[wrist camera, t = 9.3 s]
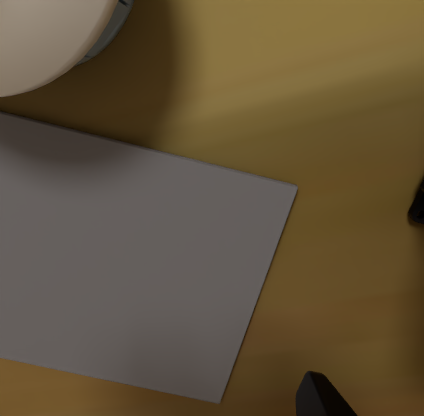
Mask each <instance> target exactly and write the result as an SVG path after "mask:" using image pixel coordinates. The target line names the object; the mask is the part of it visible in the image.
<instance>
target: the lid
mask: <svg viewBox="0 0 424 416" xmlns="http://www.w3.org/2000/svg"><path fill="white" fill-rule="evenodd" d="M117 2H118V0H0V97H5V96H13V95H17V94H21V93H25V92H29V91H32V90H35V89H37V88H39V87H42V86H44V85H46V84H48V83H50V82H52V81H54V80H55V79H57V78H58V77H60V76H61V75H63V74H65V73H66V72H68V71H69V70H70V69H71V68H72V67H73V66H74V65H75V64H77V63H78V62H79V61H80V60H81V59H82V58H83V57H84V56H85V55H86V54H87V52H88V51H89V50H90V49H91V48H92V46H93V45H94V44H95V43H96V42H97V40H98V39H99V37H100V35H101V34H102V32H103V30H104V29H105V27H106V25H107V24H108V22H109V20H110V18H111V16H112V14H113V11H114V9H115V7H116V5H117Z"/></svg>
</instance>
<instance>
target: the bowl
mask: <svg viewBox="0 0 424 416" xmlns="http://www.w3.org/2000/svg"><path fill="white" fill-rule="evenodd" d="M133 3H134V0H118V2H117V5H116V7H115V9H114V11H113V14H112V16H111V18H110V20H109V22H108V24H107V25H106V27H105V29H104V30H103V32H102V34H101V35H100V37H99V39H98V40H97V42H96V43H95V44H94V45H93V46H92V48H91V49H90V50H89V51H88V52H87V54H86V55H85V56H84V57H83V58H82V59H81V60H80V61H79V62H78V63H77V64H75V65H74V66H73V67H75V66H78V65H80V64H82V63H85V62H87V61H88V60H90V59H91V58H93V57H95V56H96V55H98V54H99V53H100V52H101V51H102V50H104V49H105V48H106V47H107V46H108V45H109V44H110V43H111V42H112V40H113V39H114V38H115V37H116V36H117V34H118V33H119V31H120V30H121V28H122V27H123V25H124V24H125V22H126V20H127V17H128V15H129V13H130V11H131V9H132V6H133Z"/></svg>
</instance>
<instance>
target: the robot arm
mask: <svg viewBox="0 0 424 416" xmlns="http://www.w3.org/2000/svg"><path fill="white" fill-rule="evenodd" d="M419 211H422V213H421V214H420V215H419V216H417V213H418V212H419ZM409 216H410V218H411V219H413V220H414V221H415V222H418V223H422V224H424V180H423V182H422V184H421V188H420V190H419V192H418V194H417V196H416V198H415V200H414V202H413V204H412V206H411V208H410V210H409ZM296 416H357V414H356V413H355V412H354V411H353V409H352V408H351V407H350V406H349V404H348V403H347V402H346V401H345V400H344V398H343V397H342V396H341V395H340V393H339V392H338V391H337V390H336V388H335V387H334V386H333V385H332V384H331V382H330V381H329V380H328V379H327V377H326V376H325V375H324V374H322V373H318V372H313V371H308V372H307V373H306V374H305V376H304V378H303V380H302V382H301V384H300V386H299V388H298V390H297V393H296Z"/></svg>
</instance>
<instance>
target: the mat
mask: <svg viewBox="0 0 424 416" xmlns="http://www.w3.org/2000/svg"><path fill="white" fill-rule="evenodd" d="M297 189H298V187H297V185H294V184H290V183H286V182H282V181H278V180H274V179H270V178H266V177H262V176H258V175H254V174H250V173H246V172H242V171H238V170H234V169H230V168H226V167H222V166H218V165H214V164H210V163H206V162H202V161H198V160H194V159H190V158H186V157H182V156H178V155H174V154H170V153H166V152H162V151H158V150H154V149H150V148H146V147H142V146H138V145H134V144H130V143H126V142H122V141H118V140H114V139H110V138H106V137H102V136H98V135H94V134H90V133H86V132H82V131H78V130H74V129H70V128H66V127H62V126H58V125H54V124H50V123H46V122H42V121H38V120H34V119H30V118H26V117H22V116H18V115H14V114H10V113H6V112H2V111H0V358H4V359H9V360H14V361H18V362H23V363H28V364H33V365H37V366H42V367H47V368H52V369H56V370H61V371H66V372H70V373H75V374H80V375H85V376H89V377H94V378H99V379H104V380H108V381H113V382H118V383H123V384H127V385H132V386H137V387H142V388H146V389H151V390H156V391H161V392H165V393H170V394H175V395H180V396H184V397H189V398H194V399H199V400H203V401H208V402H213V403H218V404H220V401H221V398H222V396H223V393H224V390H225V387H226V384H227V382H228V379H229V376H230V373H231V371H232V368H233V365H234V362H235V360H236V357H237V354H238V351H239V349H240V346H241V343H242V340H243V338H244V335H245V332H246V329H247V327H248V324H249V321H250V318H251V316H252V313H253V310H254V307H255V305H256V302H257V299H258V296H259V294H260V291H261V288H262V285H263V283H264V280H265V277H266V274H267V272H268V269H269V266H270V263H271V261H272V258H273V255H274V252H275V250H276V247H277V244H278V241H279V239H280V236H281V233H282V230H283V228H284V225H285V222H286V219H287V217H288V214H289V211H290V208H291V206H292V203H293V200H294V197H295V194H296V192H297Z"/></svg>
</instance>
